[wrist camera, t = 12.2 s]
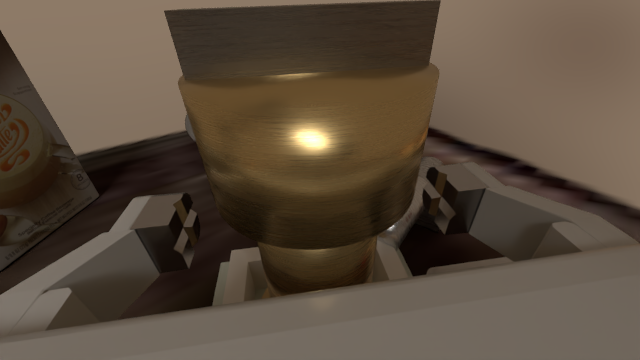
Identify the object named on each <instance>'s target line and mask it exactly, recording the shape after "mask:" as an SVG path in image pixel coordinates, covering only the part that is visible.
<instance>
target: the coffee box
mask: <svg viewBox="0 0 640 360" xmlns="http://www.w3.org/2000/svg"><path fill="white" fill-rule="evenodd" d="M98 197H99V194H98V192H97V191H96V189H95V187H94V185H93V184H92V182H91V181H90V179H89V177H88V176H87V174H86V172H85V171H84V169H83V167H82V166H81V164H80V162H79V161H78V159H77V157H76V156H75V154H74V153H73V151H72V149H71V148H70V146H69V144H68V142H67V141H66V139H65V138H64V136H63V134H62V132H61V131H60V129H59V127H58V126H57V124H56V122H55V121H54V119H53V118H52V116H51V114H50V112H49V111H48V109H47V108H46V106H45V104H44V103H43V101H42V99H41V97H40V96H39V94H38V92H37V91H36V89H35V88H34V86H33V84H32V83H31V81H30V79H29V77H28V76H27V74H26V72H25V71H24V69H23V67H22V66H21V64H20V62H19V61H18V59H17V57H16V56H15V54H14V52H13V51H12V49H11V47H10V46H9V44H8V42H7V41H6V39H5V37H4V36H3V34H2V32H1V31H0V271H1V270H2V269H4V268H5V267H6V266H8V265H9V264H10V263H12V262H13V261H14V260H16V259H17V258H18V257H20V256H21V255H22V254H24V253H25V252H26V251H28V250H29V249H30V248H32V247H33V246H34V245H36V244H37V243H38V242H40V241H41V240H42V239H44V238H45V237H46V236H47V235H49V234H50V233H51V232H53V231H54V230H55V229H57V228H58V227H60V226H61V225H62V224H64V223H65V222H66V221H68V220H69V219H70V218H71V217H73V216H74V215H75V214H77V213H78V212H79V211H81V210H82V209H83V208H85V207H86V206H87V205H89V204H90V203H91V202H93V201H94V200H95V199H96V198H98Z"/></svg>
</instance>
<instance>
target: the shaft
mask: <svg viewBox="0 0 640 360" xmlns="http://www.w3.org/2000/svg"><path fill="white" fill-rule="evenodd" d="M436 166H444V164H443V163H442V162H441V161H440V160H438V159H436V158H434V157H423V158H422V160H421V165H420V169H419V174H418V179H417V184H416V188H415V193H414V197H413V200H412V204H411V205H410V207H409V209H408V211H407V212H406V213H405V214H404V216H403V217H402V218H401V219H400V220H399V221H398V222H397V223H395V224H394V225H393V226H392V227H390V228H389V229H387V230H385V231H384V232H382V233H380V234H379V235H378V237H377V240H378V241H380V242H382V243H384V244H386V245H389V246H391V247H393V248H395V250H396V251H397V250H398V248H399V247H400V245H401V244H402V242H403V241H404V239H405V237H406V236H407V234H408V233H409V231H410V230H411V228H412V227H413V225H414V224H418V225H420V226H423V227H425V228H428V229H430V230H433V231H435V232H439V230H440V228H439V226H438V225H437V224H436V222H435V218H436V217H435V216H434V215H432V214H430V213H428V211H427V210H426V209H425V207H424V204H423V199H422V193H423V188H424V187H425V186H426V185H427V184H428V180H427V179H426V175H427V171H428V169H429V168H430V167H436Z"/></svg>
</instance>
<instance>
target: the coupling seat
mask: <svg viewBox="0 0 640 360" xmlns="http://www.w3.org/2000/svg"><path fill="white" fill-rule="evenodd" d="M509 262H513V261H512V260H510V259H508V258H507V257H502V258H495V259H488V260H481V261H474V262H467V263H461V264H454V265H447V266H440V267H433V268H430V269H428V271H427V274H434V273H441V272H448V271H455V270H462V269H468V268H475V267H482V266H489V265H496V264H502V263H509ZM427 274H426V275H427ZM407 277H413V276H412V274H411V272H410V270H409V268H408V266H407V264H406V262H405V260H404V258H403V256H402V254H401V252H400V250H399V248H398V250H397V251H396V250H395V248H393V247H391V246H389V245H386V244H384V243H382V242H380V241H378V240H377V245H376V253H375V261H374V269H373V276H372V282H379V281H386V280H393V279H400V278H407ZM266 289H267V282H266V278H265V274H264V269H263V265H262V261H261V256H260V252H259V247H254V248H247V249H239V250H232V251H231V257H230V262H223V263H221V265H220V270H219V275H218V280H217V285H216V290H215V294H214V299H213V304H212V306H216V305H223V304H230V303H237V302H243V301H250V300H257V299H261V298H262V296H263V294H264V292H265V290H266Z"/></svg>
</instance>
